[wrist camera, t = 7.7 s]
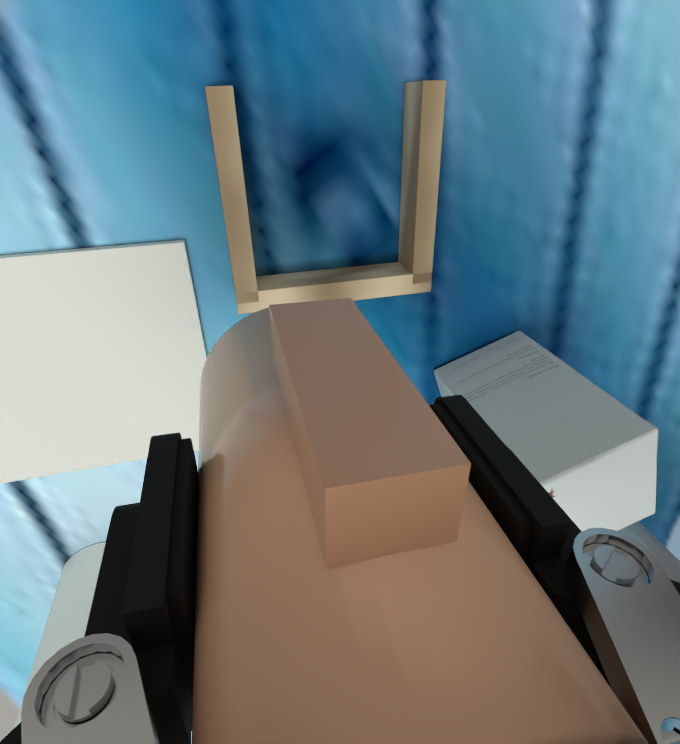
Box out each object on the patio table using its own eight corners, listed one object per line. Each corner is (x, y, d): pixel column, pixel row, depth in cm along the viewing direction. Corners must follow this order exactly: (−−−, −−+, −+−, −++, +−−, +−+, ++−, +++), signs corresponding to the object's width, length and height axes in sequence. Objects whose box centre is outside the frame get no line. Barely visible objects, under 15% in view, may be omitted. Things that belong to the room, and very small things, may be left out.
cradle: (426, 81, 25) (446, 80, 23) (415, 278, 30) (430, 291, 28) (205, 87, 23) (205, 86, 21) (236, 298, 28) (238, 314, 26)
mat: (184, 239, 26) (184, 242, 25) (223, 440, 33) (223, 445, 32) (-110, 264, 23) (-117, 268, 23) (1, 477, 30) (-2, 483, 30)
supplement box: (451, 438, 38) (545, 568, 28) (430, 367, 34) (531, 488, 24) (533, 401, 38) (658, 516, 28) (522, 326, 34) (663, 427, 24)
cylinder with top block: (388, 250, 12) (798, 592, 4) (377, 446, 15) (584, 868, 7) (178, 264, 11) (86, 789, 3) (213, 471, 14) (222, 1008, 6)
